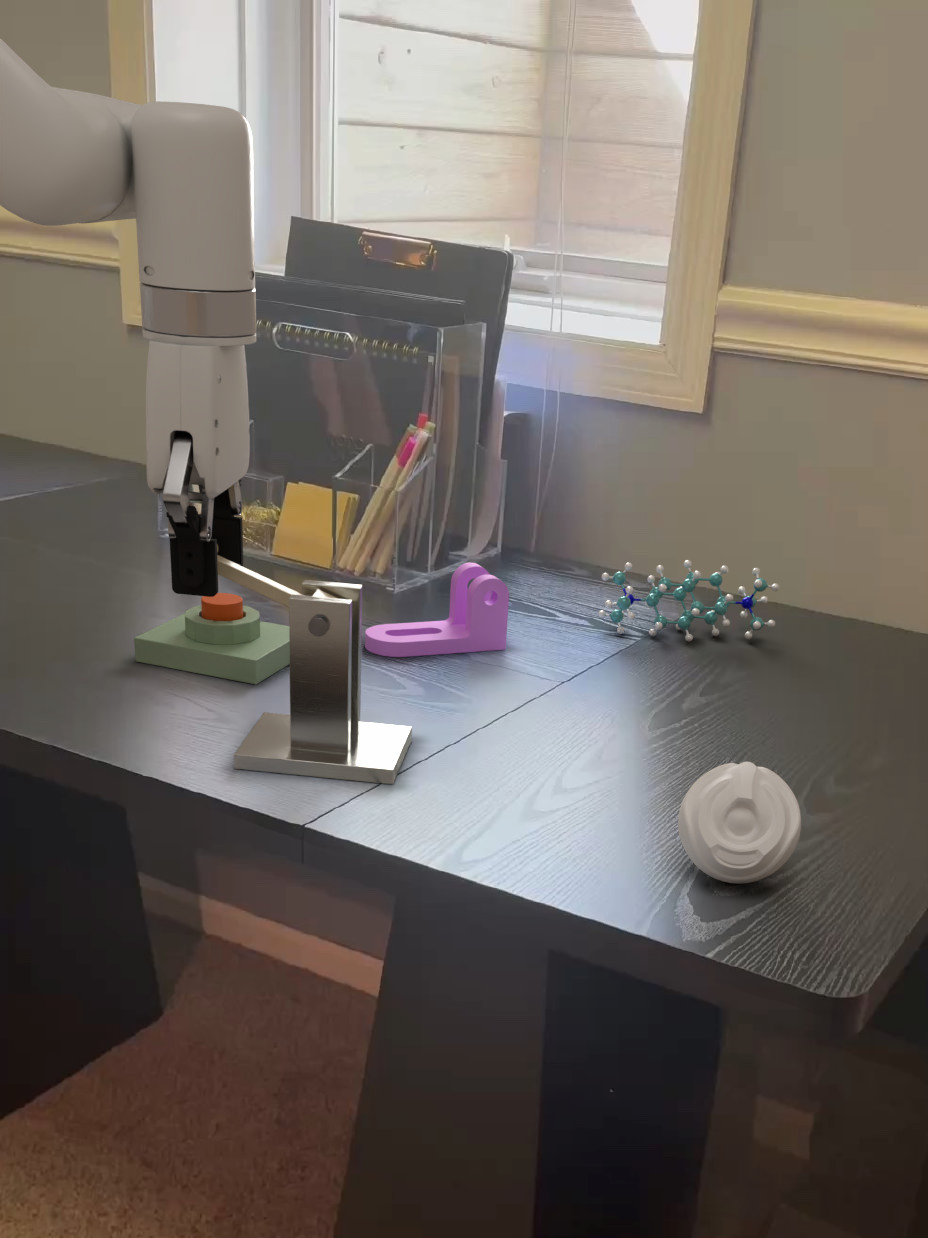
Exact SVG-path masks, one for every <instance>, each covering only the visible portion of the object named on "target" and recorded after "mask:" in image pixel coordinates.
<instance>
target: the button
mask: <svg viewBox="0 0 928 1238" xmlns="http://www.w3.org/2000/svg"><path fill="white" fill-rule="evenodd" d="M243 602H244V600H243V598H242V596H240V595H237V594H234V593H227V592H218V593H217V594H216V595H215V596H213V597H207V596H201V598H200V605H201V609H202V618H204V619H207V620H213V621H233V620H239V619H242V618H243V606H244V603H243Z"/></svg>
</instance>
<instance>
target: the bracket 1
mask: <svg viewBox="0 0 928 1238" xmlns="http://www.w3.org/2000/svg"><path fill="white" fill-rule="evenodd" d="M317 589H319V590H321V591H323V592H326V593H328V594H330V595H332V596H334V597H336V598H338V599H336V598H326V597H315V596H313V594H314V593H315V592H316V591H317ZM301 594H302V595H291V597H290V598H289V607H288V616H289V617H288V626H289V647H290V664H289V714H286V713H276V712H268V711H267V712H265V711H264V712H263V713H262V714H261V716H260V717H259V719H258V720H257V722H256V723H255V724H254V726H253V727H252V728H251V730H250V731H249V733H248V734H247V735H246V737H245V738H244V740H243V741H242V742H241V744H240V745H239V746H238V747H237V749H236V750H235V752H234V753H233V767H234V769H235V770H245V771H254V772H264V773H276V774H284V775H295V776H296V775H297V776H303V777H304V776H305V777H316V778H325V779H335V780H345V781H353V782H354V781H356V782H363V783H365V782H367V783H375V784H383V785H393V784H394V782H395V780H396V778H397V775H398V773H399V772H400V768H401V766H402V764H403V761H404V760H405V757H406V754H407V752H408V750H409V747H410V744H411V743H412V740H413V727H412V726H411V725H410V726H408V725H398V724H390V723H389V724H388V723H378V722H370V721H369V722H368V721H361V708H362V707H361V706H362V705H361V702H362V699H361V698H362V646H363V645H362V641H363V637H362V635H363V584H355V583H345V582H335V581H321V580H312V579H304V580H303V581H302V582H301Z"/></svg>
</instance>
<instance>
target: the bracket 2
mask: <svg viewBox="0 0 928 1238" xmlns="http://www.w3.org/2000/svg"><path fill="white" fill-rule="evenodd" d="M471 580H472V581H471ZM470 581H471V583H470V584H469V582H470ZM468 585H469V586H468ZM449 590H450V592H449V614H448V617H447V618H446V619H444V620H433V621H432V620H429V621H415V622H414V621H413V622H399V623H382V624H376V625H372V626H369V627H368V628H366V629H365V632H364V633H365V636H364V637H365V639H364V647H365V649H366V651H368V652H370V653H372V654H375V655H379V656H384V657H392V658H406V657H407V658H408V657H421V656H422V657H423V656H434V655H436V656H437V655H447V654H461V653H462V654H463V653H475V652H490V651H502V650H504V651H505V650H507V649H506V648H507V633H508V619H509V605H510V590H509V588H508V586H507V584H506V583H505V582H503V581H502V580H501V579H500V578H498V577H497V576H495V575H494V574H490V572H489V571H488V570H487V569H486V568H485V567H483V566H481V565H480V564H478V563H476V562H464V563H462V564H461V565H459V566H458V567H457V568H456V569H455V570H454V572H453V573H452V576H451V579H450V589H449Z"/></svg>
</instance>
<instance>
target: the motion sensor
mask: <svg viewBox="0 0 928 1238" xmlns="http://www.w3.org/2000/svg"><path fill="white" fill-rule="evenodd" d="M677 830H678V831H677V832H678V836H679V840H680V843H681V845H682V847H683V849H684V851H685V853H686V855H687V856H688V858H689V859H690V861H691V862H692V863H693V864H694V865H695V867H697V868H698V869H699V870H700V871H701V872H703V873H704V874H706V875H707V876H709V877H711V878H713V879H715V880H718V881H721V882H725V883H728V884H749V883H753V882H758V881H760V880H763V879H765V878H768V877H770V876H771V875H773V874H774V873H775V872H777V871H778V870H780V868H782V867H783V866H784V865H785V863H787V861H788V860H789V859H790V858H791V856H792V855H793V853H794V852H795V850H796V848H797V846H798V844H799V841H800V837H801V833H802V816H801V809H800V806H799V802H798V800H797V797H796V796H795V794H794V792H793V790H792V789H791V788H790V786H789V785H788V783H786V781H785V780H784V779H783V778H782V777H780V775H778V774H777V772H776V773H775V772H774V771H772V770H771V769H770V768H767V767H764V766H757V765H756V764H755V763H753V762H751V761H743V762H740V763H739V764H738V763H735V762H729V763H723V764H721V765H718V766H716V767H714V768H712V769H710V770H708V771H707V772H705V773H704V774H702V775H701V776H700V777H699V778H698V779H697V780H696V781H695V782H694V783H693V784H692V785H691V786H690V787H689V789H688V791H687V792H686V794H685V795H684V797H683V799H682V801H681V805H680V808H679V811H678V817H677Z"/></svg>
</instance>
